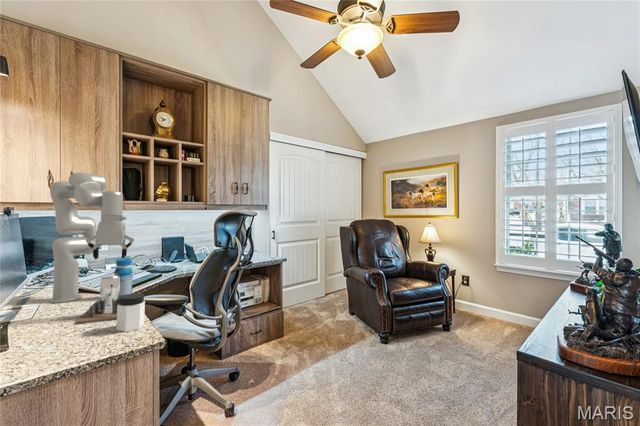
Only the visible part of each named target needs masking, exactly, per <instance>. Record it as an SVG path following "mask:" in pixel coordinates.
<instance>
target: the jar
mask: <svg viewBox="0 0 640 426" xmlns="http://www.w3.org/2000/svg"><path fill="white" fill-rule="evenodd" d="M118 302H119V305H117V320H116V326H115V327H116V329H115V330H116V331H118V332H125V333H126V332H131V331H136V330H140V329H141V328H143V326H145V313H146V312H145V311H146V310H145V309H146V308H145V307H146V306H145V305H146V301H145V294H143V293H132V294H127V295H123V296H120V297H119V300H118Z"/></svg>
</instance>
